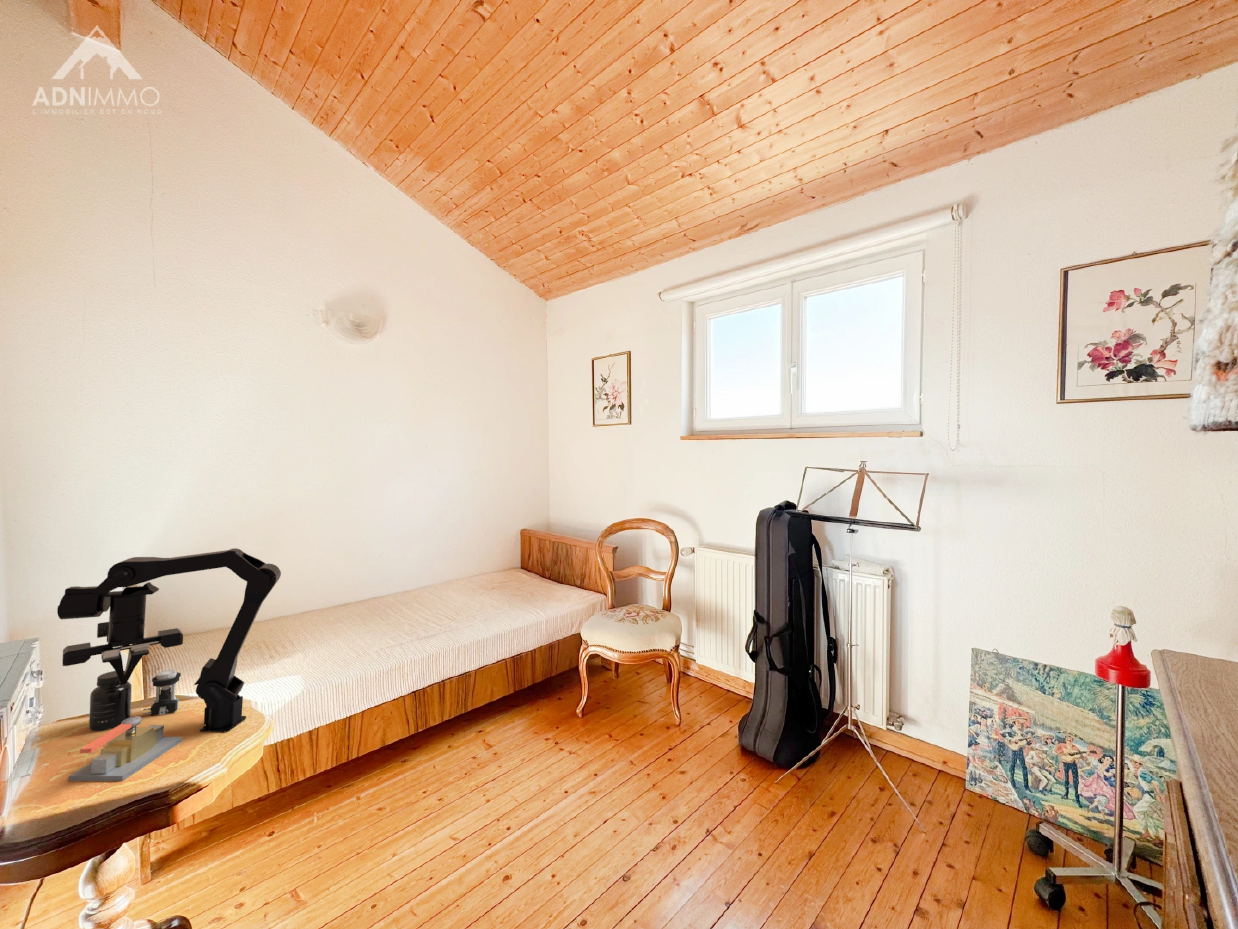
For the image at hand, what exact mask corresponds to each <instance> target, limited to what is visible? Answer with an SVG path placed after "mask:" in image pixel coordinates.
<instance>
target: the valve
mask: <svg viewBox="0 0 1238 929" xmlns="http://www.w3.org/2000/svg"><path fill="white" fill-rule="evenodd" d="M164 734H165V725H164V724H150V725H149V726H147V727H145V726H143V727H137V726H135V727H132V728H129V729H128V730H126V731H125V732H123V733H121V734H120V735H118V736H117V737H115V738H114V739H112V740H110V741H109V742H107V743H106V744H105V747H103V748H101V749H100V754H99V755H98V756H97V755H96V757H93V758H92V759H91V762H90V763H91V774H106V773H108V772H110V771H111V770H113V769H114V768H116V767H121V766H123V765H125V764H126V763H128V762H132V761H133V760H135V759H137V758H138V757H140V756H141V755H143V754H144V753H146V752H148V751H149V750H151V749H152V748H153V746H155V745H156V744H157V741H159V740H160V739H162V738H164V737H165V736H164Z"/></svg>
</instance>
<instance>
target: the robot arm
mask: <svg viewBox="0 0 1238 929" xmlns="http://www.w3.org/2000/svg"><path fill="white" fill-rule="evenodd" d="M221 568H227V569H229V570H230V571H232V573H234V574H235V575H236V576H237V577H239V579H241V580H243V581H245V582H246V585H245V588H244V595H243V596H244V597H243V602H242V604H241V607H240V609H239V611H238V613H237V615H236V617H235V618H234V621H233V623H232V626H231V627H230V629H229V632H228V634H227V636H226V639H225V641H224V643H223V644H222V647H221V649H220V651H219V652H218V656H217V657H216V658H215V659H214V658H209V659H208V660H207V662H206V663H205V664H204V665H203V667H202V668H201V671H200V675H199V678H198V679H197V680H196V681H195V683H194V685H195V686H196V688H195V694H197V696H198V698H200V699H201V700H203V701H204V704H205V707H204V712H203V713H204V714H203V725H204V726H202V727H201V728H199V732H208V733H209V732H211V733H212V732H219V733H220V732H221V733H222V732H225V733H226V732H230V730H232V729H234V728H235V727H236V726H238V725H239V724H240V723H242V722H243V721H245V720H246V719H247V716H246V715H243V704H244V702H243V700H244V699H243V697H244V696H242V695H239V693H240V692H241V691H242V689H243V687H244V684H245V682H244V681H243V680H242V679H240V677H238V676H236V675H235V673H236V669H237V664H238V657H239V654H240V652H241V650H242V647H243V646H244V643H245V642H246V639H247V636H248V635H249V632H250V631H251V628H252V626H253V624H254V622H255V620H256V618H257V615H258V613H259V611H260V608H261V607H262V605H263V602H264V601H265V600H266V598H267V597H268V595H269V594H270V593H271V592H272V590H273V589H274V587H275V586H276V584H277V583H278V581H279V580H280V579H281V577H282V576H281V575H282V570H280V568H279V567H278V566H277V565H275V564H273V563H267V562H264V561H262V560H261V559H259V558H258V557H257V558H256V557H254V556H252V555H250V554H248V553H246V552H245V551H243V550H241V549H239V548H230V549H228V550H227V549H226V550H225V549H224V550H219V551H211V552H205V553H197V554H190V555H189V554H188V555H182V556H175V557H156V556H134V557H129V558H126V559H124V560H121V561H119V562H117V563H115V564H113V565H112V566H111V567H110V568H109V570H107V577H106V578H105V579H104V580H103V581H101V583H99V584H98V585H95V586H78V585H77V586H70V587H67V588H66V589H65V590H64V594H63V596H62V597H61V599H60V601H59V605H58V606H57V608H56V609H57V610H56V612H57V616H58V618H59V619H60V620H73V619H86V618H87V619H88V618H99V617H100V616H102V615H103V613H105V612H108V611H109V617H108V621H106V622H99V623H97V626H96V627H97V631H96V638H97V639H100V638H106V644H101V645H96V646H92V645H91V642H90V641H89V642H84V643H77V644H72V645H67V646H65V647H64V648H63V650H62V663H61V664H62V667H69V666H73V665H75V666H76V665H80V664H85V663H86V662H88V661H89V660H90V659H91V657H92V656H97V655H100V657H101V662H102V663H104V664H106V663H109V664H110V666H111V667H112V669H114V671H116V673H117V676H118V678H119V680H120V683H121V685H123V684H127V682H129V680H130V678H131V676H132V674H133V672H134V670H135V668H136V667H137V665H138V664H139V662H140V661H141V660H142V658H143V657H144V656H148V655H150V650H149V649H150V646H154V645H160V646H161V647H162V648H165V649H168V648H171V647H177V646H182V645H183V644H184V634H183V632H182V630H181V629H179V628H178V627H177V628H171V629H170V628H169V629H164V630H158V631H157V635H154V636H148V637H145V629H146V628H145V626H146V625H145V624H146V623H145V622H146V609H147V608H146V607H147V605H146V604H147V596H148V595H154V594H155V593H156V592H159V590H160V588H159V587H157V586H155V585H154V584H152V583H151V582H150V581H152V580H156V579H158V578H163V577H166V576H172V575H173V576H174V575H179V574H185V573H187V574H188V573H193V572H194V573H195V572H199V571H205V570H206V571H207V570H214V569H221ZM139 584H144V585H142V586H141V585H139ZM136 585H137V586H136ZM138 585H139V586H138ZM118 588H124V589H123V590H116V591H115V589H118ZM127 650H128V654H127V659H126V660H127V661H126V665H125V669H124V664H123V657H122V654H121V653H122V651H127ZM124 671H125V673H124Z"/></svg>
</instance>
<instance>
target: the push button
mask: <svg viewBox="0 0 1238 929" xmlns="http://www.w3.org/2000/svg"><path fill="white" fill-rule="evenodd" d="M181 676H182V675H181V672H178V671H177V670H176V669H167V670H163V671H161V672H158V673H157V674H156V675H155V676H154V677H152V679H151V682H152V686H153V687H155V700H154V701H153V704H152V705H151V706H150V707H148V708H144V709H142V711H146V712H143V713H142V715H147V714H150V715H151V716H161V715H166V714H174V713H175V712H176V711H177V710H178V709H179V699H178V698H177V697H176V686H177V685H176V683H177V682H179V681H180V677H181Z"/></svg>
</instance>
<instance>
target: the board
mask: <svg viewBox="0 0 1238 929" xmlns="http://www.w3.org/2000/svg"><path fill="white" fill-rule="evenodd" d="M182 742H183V737H182V736H164V738H162V739H160V740H159V741H157V744H156V745H155V746H153V748H152V749H151V750H149V751H148V752H146V753H144V754H143V755H141V756H140V757H138V758H137V759H135V760H133V761H132V762H128V763H126V764H125V765H123V766H121V767H116V768H114V769H113V770H111V771H110V772H108V773H106V774H91V763H92V762H90V763H89V764H87V765H84V766H83V767H82V768H79V769H78V770H76V771H75V772H73V773H71V774H69V775H68V782H122V781H125V780H126V779H127V778H129V777H131V776H132V775H134V774H135V773H136V772H138V771H140V770H141V769H143V768H144V767H146V766H147V765H149V764H150V763H151V762H154V761H155V760H156V759H158V758H159V757H160V756H162V755H163V754H165V753H167V752H168V751H170V750H171V749H173V748H174V747H175V746H177V745H179V744H181V743H182Z"/></svg>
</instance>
